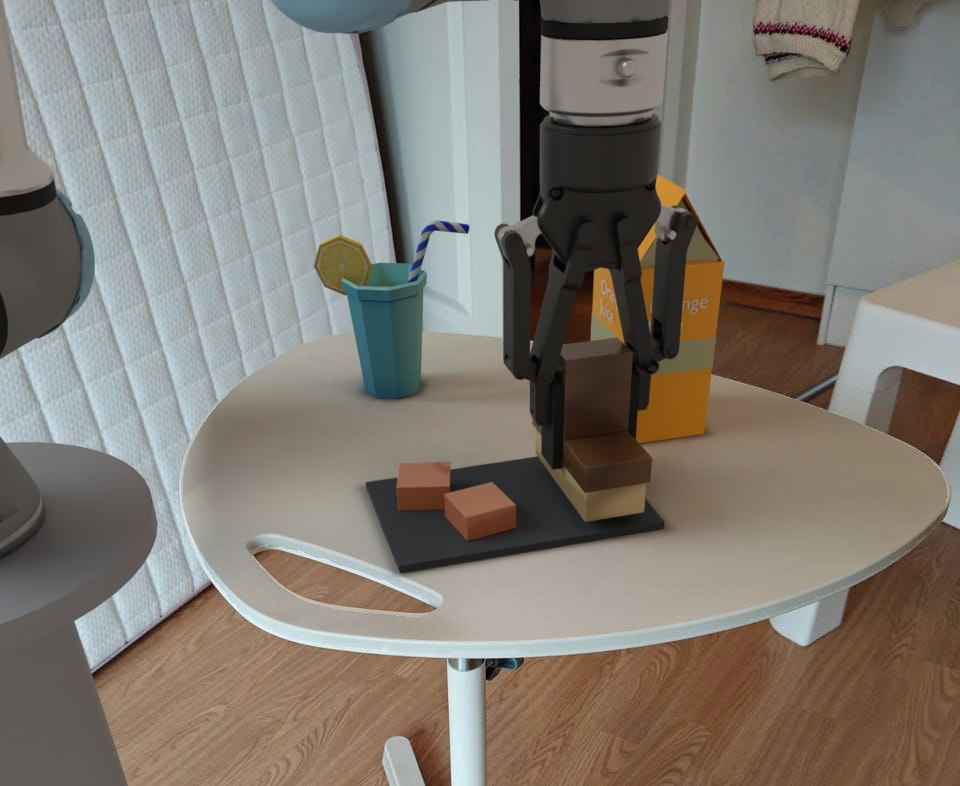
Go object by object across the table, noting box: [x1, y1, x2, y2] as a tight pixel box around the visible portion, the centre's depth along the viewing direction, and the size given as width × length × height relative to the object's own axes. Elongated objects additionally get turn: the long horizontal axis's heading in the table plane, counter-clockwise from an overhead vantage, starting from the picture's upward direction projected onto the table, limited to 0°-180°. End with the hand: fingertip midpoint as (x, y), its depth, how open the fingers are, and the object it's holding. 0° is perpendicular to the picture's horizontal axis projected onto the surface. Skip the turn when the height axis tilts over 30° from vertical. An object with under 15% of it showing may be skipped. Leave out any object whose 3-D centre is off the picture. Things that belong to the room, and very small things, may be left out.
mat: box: [365, 455, 666, 574], centre depth 78 cm, size 20×13×1 cm, turn 105°
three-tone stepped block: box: [531, 338, 653, 522], centre depth 75 cm, size 5×12×10 cm, turn 15°
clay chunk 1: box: [396, 461, 452, 511], centre depth 78 cm, size 4×4×2 cm
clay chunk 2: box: [444, 482, 516, 541], centre depth 74 cm, size 4×4×2 cm
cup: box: [313, 219, 471, 400], centre depth 93 cm, size 14×8×15 cm, turn 101°
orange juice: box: [590, 174, 725, 444], centre depth 84 cm, size 8×9×20 cm
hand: (587, 455), depth 76 cm, fingers closed on three-tone stepped block, 5 cm apart
